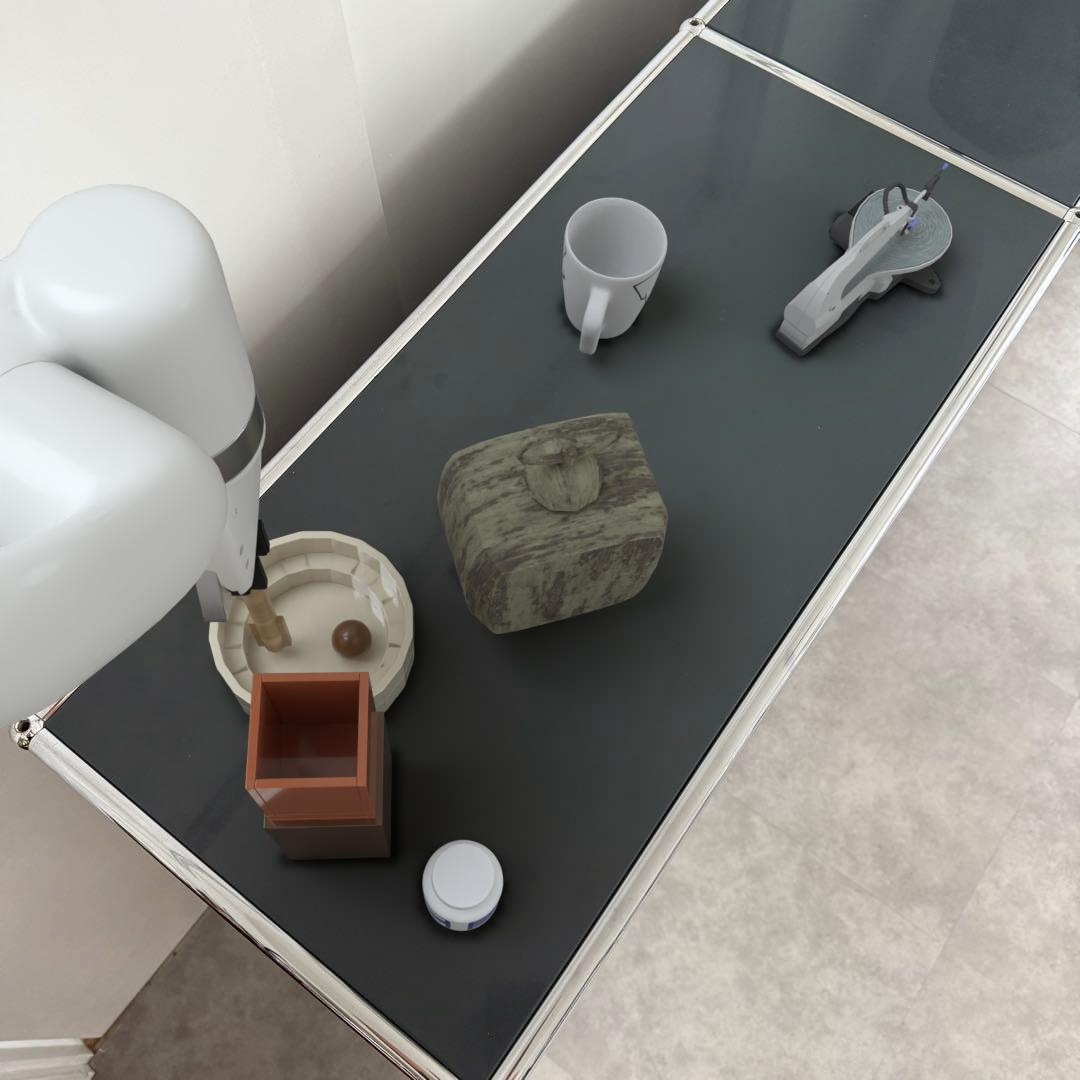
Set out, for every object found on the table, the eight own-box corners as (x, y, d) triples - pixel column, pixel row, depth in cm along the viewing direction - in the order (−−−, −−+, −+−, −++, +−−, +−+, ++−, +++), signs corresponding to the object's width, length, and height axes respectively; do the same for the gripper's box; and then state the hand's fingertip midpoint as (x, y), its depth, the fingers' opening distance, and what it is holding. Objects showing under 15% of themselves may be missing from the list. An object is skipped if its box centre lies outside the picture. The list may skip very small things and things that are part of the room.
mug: (627, 389, 95) (647, 321, 86) (533, 363, 96) (543, 293, 87) (655, 286, 100) (677, 212, 91) (566, 262, 100) (579, 185, 91)
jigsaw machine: (878, 317, 88) (769, 231, 90) (835, 388, 97) (737, 308, 100) (1016, 188, 95) (911, 111, 97) (962, 266, 104) (868, 194, 107)
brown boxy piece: (289, 860, 77) (236, 796, 57) (294, 760, 80) (245, 666, 59) (390, 857, 78) (373, 793, 57) (391, 758, 81) (376, 664, 60)
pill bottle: (499, 853, 79) (506, 832, 70) (498, 931, 76) (505, 919, 68) (424, 852, 78) (423, 831, 70) (421, 931, 76) (419, 918, 68)
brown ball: (332, 665, 83) (328, 652, 80) (333, 627, 84) (330, 613, 81) (372, 664, 83) (370, 652, 80) (373, 627, 84) (371, 613, 81)
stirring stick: (291, 652, 81) (248, 542, 63) (258, 653, 81) (205, 543, 63) (292, 632, 82) (250, 517, 63) (259, 632, 81) (207, 517, 63)
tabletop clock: (608, 514, 90) (665, 340, 68) (644, 614, 87) (718, 466, 64) (436, 557, 87) (436, 390, 65) (468, 662, 84) (479, 525, 61)
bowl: (217, 743, 80) (201, 721, 75) (231, 563, 86) (217, 531, 80) (413, 739, 81) (412, 718, 76) (414, 562, 87) (413, 530, 82)
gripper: (114, 277, 54) (191, 455, 71) (74, 573, 48) (169, 692, 65) (270, 280, 55) (310, 455, 72) (251, 572, 48) (299, 690, 65)
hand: (242, 567), depth 68 cm, fingers closed on stirring stick, 1 cm apart
